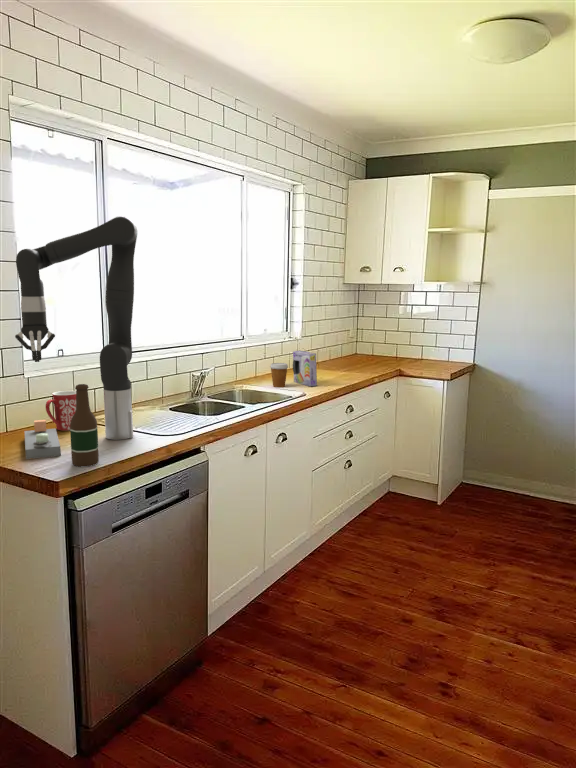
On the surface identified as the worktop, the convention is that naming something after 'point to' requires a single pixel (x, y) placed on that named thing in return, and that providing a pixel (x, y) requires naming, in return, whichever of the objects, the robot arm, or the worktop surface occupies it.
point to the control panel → (41, 449)
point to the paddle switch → (40, 425)
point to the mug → (62, 408)
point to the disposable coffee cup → (279, 374)
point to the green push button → (42, 437)
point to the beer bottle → (83, 431)
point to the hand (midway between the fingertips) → (36, 361)
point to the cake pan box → (304, 368)
